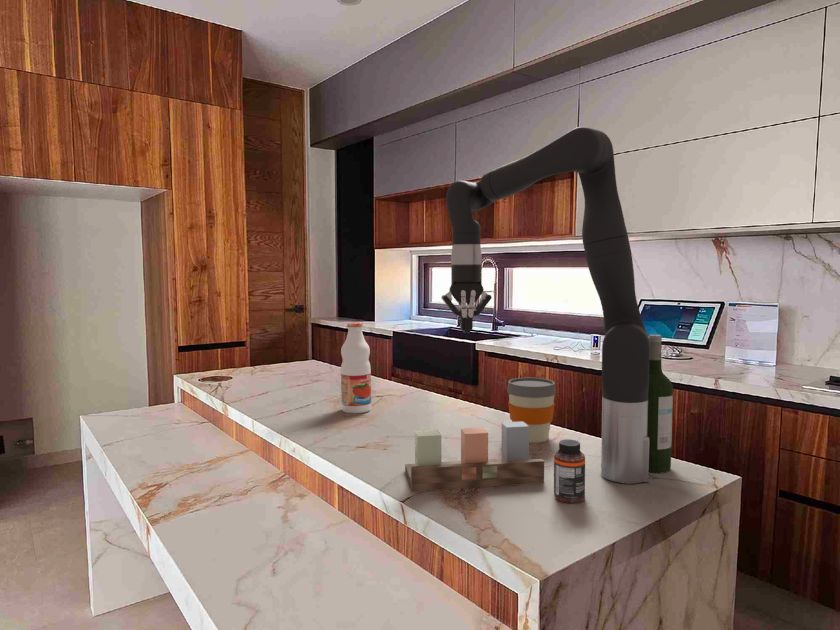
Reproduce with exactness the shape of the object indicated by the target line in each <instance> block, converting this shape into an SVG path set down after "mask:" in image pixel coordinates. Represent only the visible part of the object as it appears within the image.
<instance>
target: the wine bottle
mask: <svg viewBox="0 0 840 630" xmlns="http://www.w3.org/2000/svg"><path fill="white" fill-rule="evenodd" d="M648 337H649V342H650V353H649V392H648V426H647V435H648V437H649V473H651V474H664V473H668V472H670V470H671V469H672V468H671V467H672V440H673V439H672V438H673V437H672V435H673V433H672V432H673V431H672V430H673V406H674V405H673V402H674V399H673V397H674V395H673V394H674V386H673V383H672V381H671V380H670V378H669V377H667V376H666V375H665V373H663V369H662V341H663V338H662V335H661V334H649V335H648Z"/></svg>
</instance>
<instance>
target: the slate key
mask: <svg viewBox="0 0 840 630" xmlns="http://www.w3.org/2000/svg"><path fill="white" fill-rule="evenodd" d="M529 451H530V443H529V426H528V425H527V424H526V423H524V422H523V421H521V422H512V421H505V422H504V421H503V422H501V453H500V454H501V457H500V459H501V461H515V460H530V452H529Z"/></svg>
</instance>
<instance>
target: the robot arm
mask: <svg viewBox="0 0 840 630" xmlns="http://www.w3.org/2000/svg"><path fill="white" fill-rule="evenodd" d="M570 172H574V173H578V176H579V178H580V179H579V180H580V183H581V187H582V192H583V196H584V211H583V218H582V227H581V228H582V229H581V231H582V232H581V237H582V245H583V250H584V254H585V259H586V264H587V267H588V272H589V274H590V277H591V279H592V283H593V285H594V287H595V290H596V293H597V294H598V298H599V301H600V305H601V309H602V316H603V324H604V338H603V340H602V346H601V388H602V396H601V397H602V400H601V401H602V403H601V405H602V406H601V407H602V408H601V409H602V410H601V450H600V451H601V455H600V457H601V458H600V468H601V469H600V470H601V471H600V474H601V476H602V477H603V478H604V479H606V480H609V481H611V482H614V483H620V484H629V485H632V484H640V483H649V437H648V435H647V426H648V392H649V353H650V342H649V335H648V332H647V330H646V328H645V324H644V322H643V317H642V315H641V311H640V308H639V305H638V300H637V296H636V295H637V294H636V284H635V282H636V281H635V272H634V264H633V254H632V249H631V244H630V238H629V234H628V230H627V227H626V223H625V217H624V214H623V209H622V204H621V200H620V196H619V193H618V192H619V191H618V186H617V185H618V184H617V178H616V165H615V155H614V148H613V142H612V141H611V139H610V137H609V136H608V135H607V134H606V133H605V132H604V131H601V130H600V129H595V128H592V127H590V126H577V127H575V128H572V129H571V130H569V131H567V132H565V133H564V134H563V135H561V136H558V138H556V139H554V140H553V141H551V142H550V143H548V144H546V145H545V146H543V147H542V148H539V149H537V150H536V151H533V152H531V153H529V154H528V155H525V156H524V157H521V158H519V159H517V160H514V161H511V162H509V163H507V164H504V165H502V166H499V167H496V168H494V169H491V170H489V171H487V172H486V173H484V174H483V176H481V179H480V180H479V181H475V182H471V181H465V180H456V181H453V182H452V183H451V184H450V185H449V187H448V189H447V190H446V191H447V192H446V197H445V202H446V209H447V212H448V217H449V221H450V225H451V228H452V230H451V231H452V232H451V233H452V235H451V237H452V238H451V239H452V240H451V241H452V243H451V244H452V246H451V254H450V255H451V256H450V257H451V258H450V265H451V277H450V278H451V284H450V286H449V289H448V290H449V291H448V292H446V293H445V294H443V295H441V300H442V301H443V302H444V303H445V305H446V306H447V307H448V309H449V310H450V311H451V313H452V314H453V315H455V316H458V317H459V320H460V321H459V323H460V330H461V331H462V333H463V334H464V333H465V334H467V333H471V331H472V330H473V327H474V326H473V324H474V323H473V321H474V320H473V318H474V317H475V316H477V315H478V316H479V315H480V314H481V313H482V312H483V310H484V309H485V308H486V306H487V305H488V304H489V303H490V301H491V300H492V299H493V298H492V295H490V294H488V293H487V292H485V291H484V287H483V284H482V282H483V280H482V277H483V276H482V275H483V274H482V269H483V268H482V257H483V256H482V254H483V253H482V248H481V247H482V246H481V244H482V243H481V225H480V223H479V222H478V221H477V220H475V219H474V217H473V213H472V212H475V211H480V210H483V209H484V208H485V209H486V208H487V207H488V206H490V205H492V204H493V203H495V202H497V201H498V200H502V199H505V198H508V197H510V196H513V195H515V194H518V193H520V192H522V191H524V190H526V189H527V188H529V187H531V186H533V185H534V184H535V183H537V182H539V181H541V180H543V179H545V178H548V177H551V176H556V175H559V174H563V173H570ZM479 298H480V301H479V303H478V304H477V306H476V307H475V305H476V304H475V303H476V302H477V301H478V300H479ZM453 299H454V300H455V301H456V303H458V308H459V309H458V308H457V307H456V305H455V304H454V303H453V302H452V301H453Z"/></svg>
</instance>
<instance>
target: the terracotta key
mask: <svg viewBox="0 0 840 630" xmlns="http://www.w3.org/2000/svg"><path fill="white" fill-rule="evenodd" d="M488 459H489V431H487V430H486V429H485V428H484V427H470V428H460V461H461V464H464V463H481V462H488Z"/></svg>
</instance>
